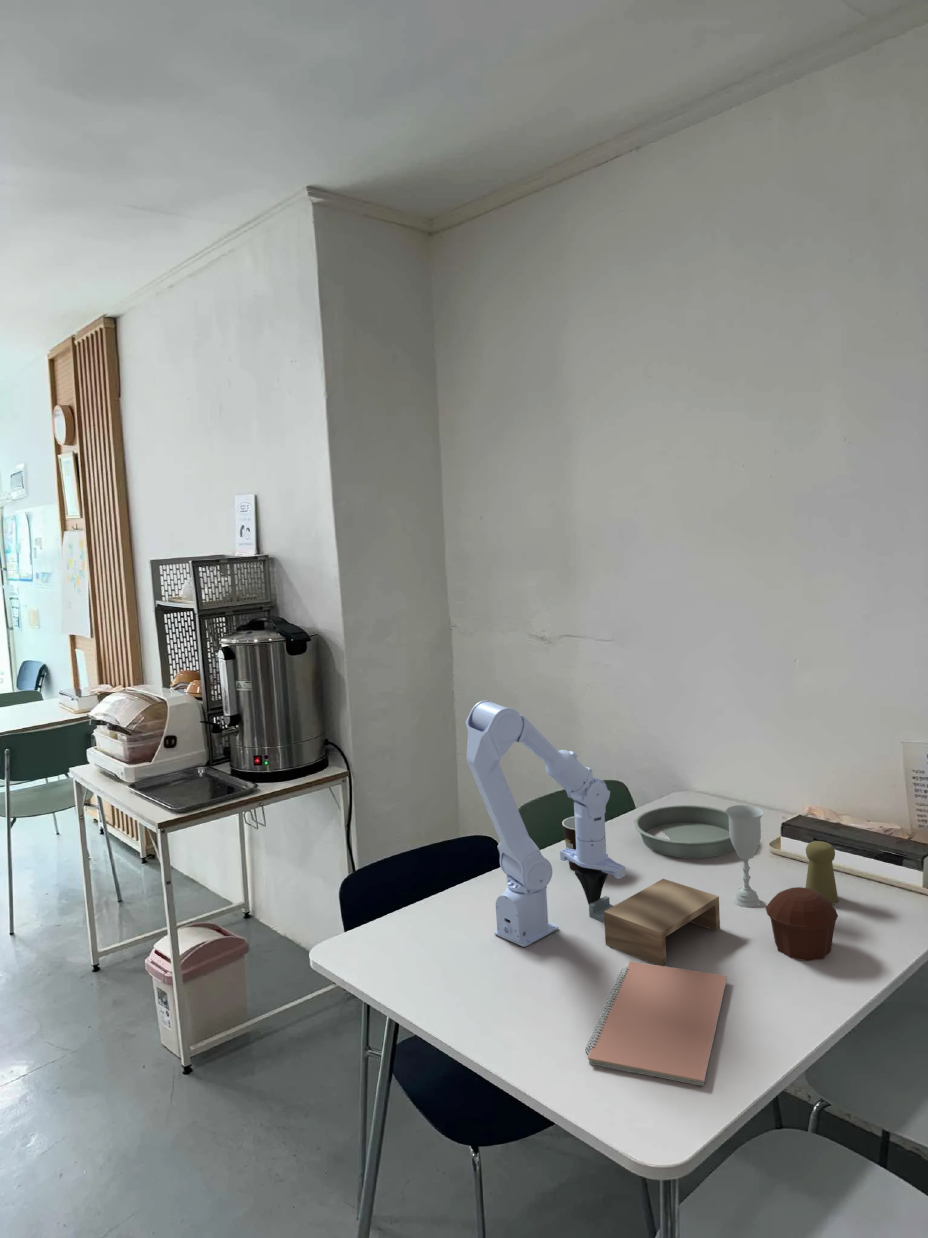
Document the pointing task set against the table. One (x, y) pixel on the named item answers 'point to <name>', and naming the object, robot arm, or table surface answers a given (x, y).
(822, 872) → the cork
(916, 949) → the table surface
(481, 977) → the table surface
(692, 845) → the cake pan
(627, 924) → the shelf
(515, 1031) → the table surface
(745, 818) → the chalice
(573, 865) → the coffee mug
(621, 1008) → the notebook
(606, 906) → the tray
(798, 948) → the muffin
